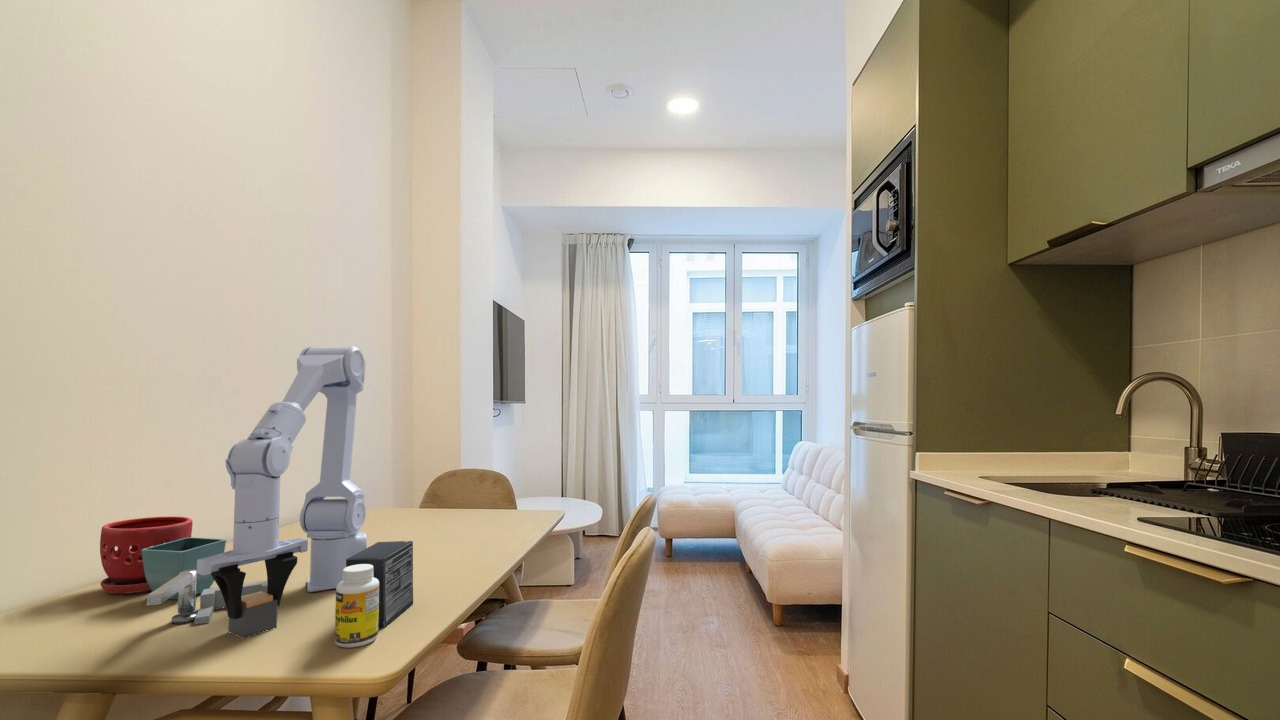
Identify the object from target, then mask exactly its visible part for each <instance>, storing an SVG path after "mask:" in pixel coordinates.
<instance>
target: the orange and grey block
mask: <svg viewBox="0 0 1280 720" xmlns="http://www.w3.org/2000/svg"><path fill="white" fill-rule="evenodd" d="M277 621H278V607H277V600H275V599H273V595H270V594H267V593H264V592H261V591H260V592H256V593H253V594H249V595H245V596H241V615H240V618H238V619H232V618H229V617H228V633H229V632H231V633H233V634H232V635H234V634H236V635H238V636H240V637H239V638H241V637H242V638H241V639H243V638H244V639H247V638H249V637H248V636H250V637H253V636H255V635H254V634H256V635H259V634H261V632H263V631H266V630H269V631H271V630H270V629H272V630H274V629H273V628H275V629H277V625H278V622H277ZM266 632H267V631H266ZM231 633H230V634H231ZM258 633H259V634H258ZM263 633H264V632H263ZM236 635H235V636H236ZM252 635H253V636H252ZM238 636H237V637H238ZM246 637H247V638H246Z"/></svg>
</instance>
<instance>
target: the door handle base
mask: <svg viewBox="0 0 1280 720" xmlns="http://www.w3.org/2000/svg"><path fill="white" fill-rule="evenodd" d="M198 611H199V610H194V611H191V612H188V613H177V614H175V615H173V616H172V617H171V622H172V623H171V624H172V625H183V624H190V623H192V622H195V617H196V615H197V613H198Z"/></svg>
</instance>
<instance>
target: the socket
mask: <svg viewBox="0 0 1280 720" xmlns="http://www.w3.org/2000/svg"><path fill="white" fill-rule="evenodd" d="M267 585H268V581H267V579H266V580H260V581H253V582H247V583H246V582H244V583H243V588H242V595H241V596H245V595H249V594H253V593H256V592H260V591H261V592H264V593H267ZM199 599H200V601H199V603H200V604H199V605H200V606H199V610H197V611H198V613H197V615H196V617H195V621H194V626H196V625H202V624H208V622H209V623H210V621H211V618H212V616H213V614H214V612H213V611H215V610H218V609H217V608H221V609H224V608H223V607H226V604H225V601H224V598H223V595H222V593H221V591H220V589H219V587H218V586H217V587H210V588H209V589H204V590H203V592H202V593H200V597H199ZM214 609H215V610H214Z"/></svg>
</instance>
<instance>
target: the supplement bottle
mask: <svg viewBox="0 0 1280 720" xmlns="http://www.w3.org/2000/svg"><path fill="white" fill-rule="evenodd" d="M373 574H374V573H373V565H370V564H357V565H352V566H348V567H346V568H344V569H343V576H342V578H343V579H342V580H343V581H342V582H340V583H339V584H338V585H337V587H336V588H335V610H334V611H335V614H334V615H335V616H334V617H335V619H334V621H335V623H334V642H335V644H336V645H337V646H338V647H340V648H346V649H351V648H352V649H353V648H357V647H362V646H366V645H368V644H371V643H372V642H373V641H375V640H377V637H378V635H379V628H378V621H379V581H378V579H376V578H374V577H373V576H374V575H373Z"/></svg>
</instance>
